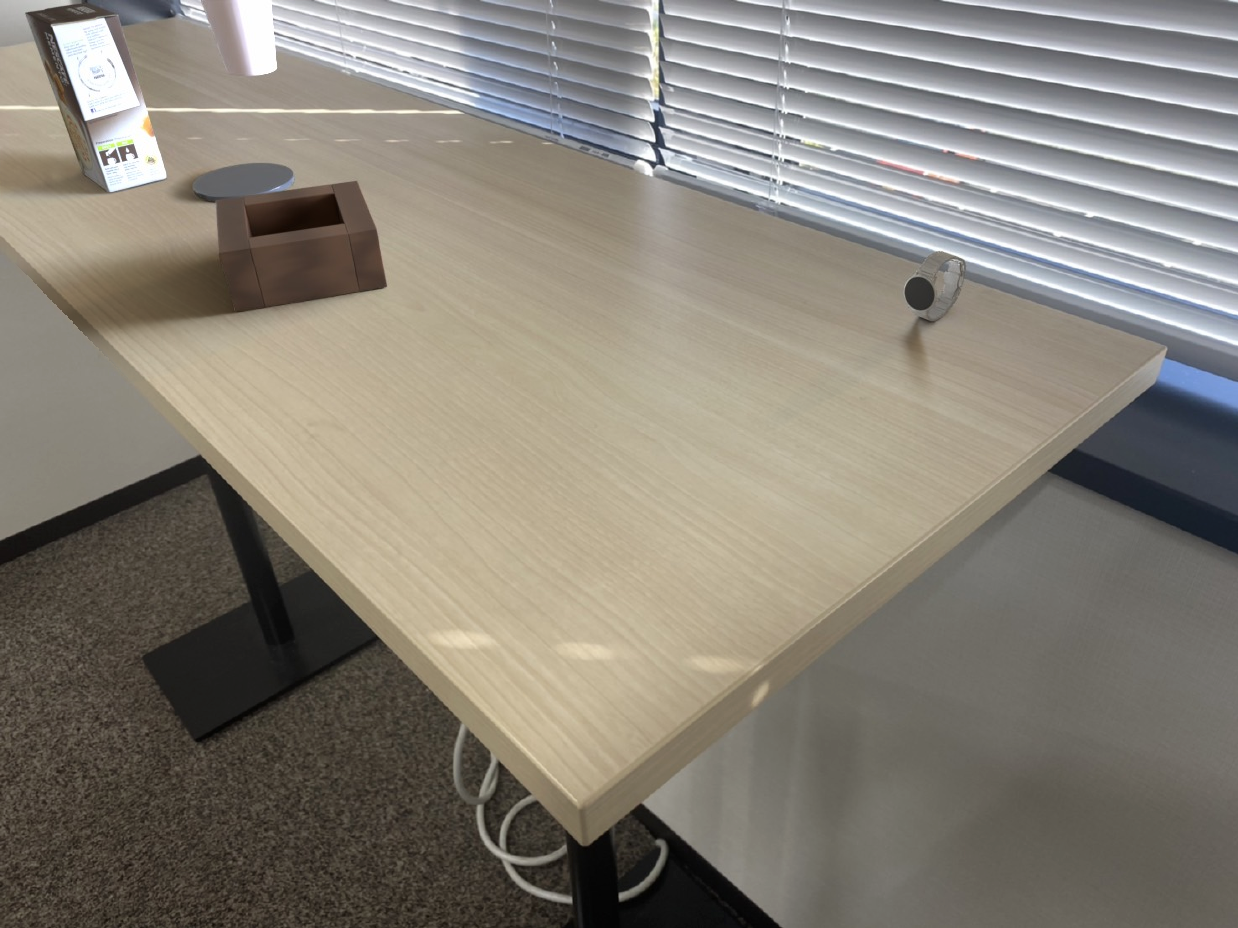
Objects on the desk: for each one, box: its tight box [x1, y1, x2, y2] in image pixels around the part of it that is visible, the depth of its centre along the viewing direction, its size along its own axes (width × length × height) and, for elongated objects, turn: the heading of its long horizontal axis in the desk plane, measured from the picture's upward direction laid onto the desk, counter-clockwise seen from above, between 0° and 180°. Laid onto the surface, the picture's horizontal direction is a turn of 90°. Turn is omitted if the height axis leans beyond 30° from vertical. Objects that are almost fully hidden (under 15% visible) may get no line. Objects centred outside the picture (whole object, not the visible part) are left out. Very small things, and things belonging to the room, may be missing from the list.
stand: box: [215, 180, 388, 313], centre depth 81 cm, size 12×12×5 cm
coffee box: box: [24, 2, 168, 193], centre depth 98 cm, size 9×6×16 cm
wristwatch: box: [903, 250, 967, 322], centre depth 72 cm, size 3×5×5 cm, turn 132°
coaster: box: [192, 162, 296, 203], centre depth 100 cm, size 10×10×1 cm
